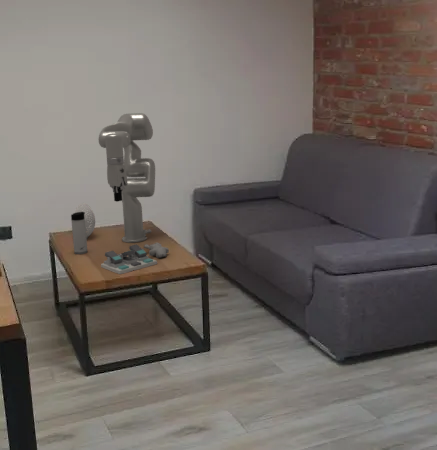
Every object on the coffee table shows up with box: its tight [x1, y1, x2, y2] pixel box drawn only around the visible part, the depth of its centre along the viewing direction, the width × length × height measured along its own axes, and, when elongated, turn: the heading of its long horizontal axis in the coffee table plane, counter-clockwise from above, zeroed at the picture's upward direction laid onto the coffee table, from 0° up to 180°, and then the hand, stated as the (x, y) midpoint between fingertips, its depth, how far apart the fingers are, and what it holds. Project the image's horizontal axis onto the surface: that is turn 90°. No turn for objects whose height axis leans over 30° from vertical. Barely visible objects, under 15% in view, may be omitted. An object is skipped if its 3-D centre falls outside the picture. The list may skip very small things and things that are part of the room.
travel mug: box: [70, 211, 88, 255], centre depth 332 cm, size 6×7×20 cm
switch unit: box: [100, 248, 158, 275], centre depth 310 cm, size 20×15×5 cm
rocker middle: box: [117, 250, 135, 257], centre depth 311 cm, size 4×8×2 cm, turn 41°
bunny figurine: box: [143, 242, 169, 259], centre depth 326 cm, size 10×5×15 cm
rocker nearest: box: [128, 244, 148, 258], centre depth 315 cm, size 4×8×2 cm, turn 41°
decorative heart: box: [74, 202, 96, 240], centre depth 360 cm, size 18×11×17 cm, turn 15°
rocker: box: [104, 250, 123, 264], centre depth 307 cm, size 4×8×2 cm, turn 41°
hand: (118, 200), depth 317 cm, fingers closed
